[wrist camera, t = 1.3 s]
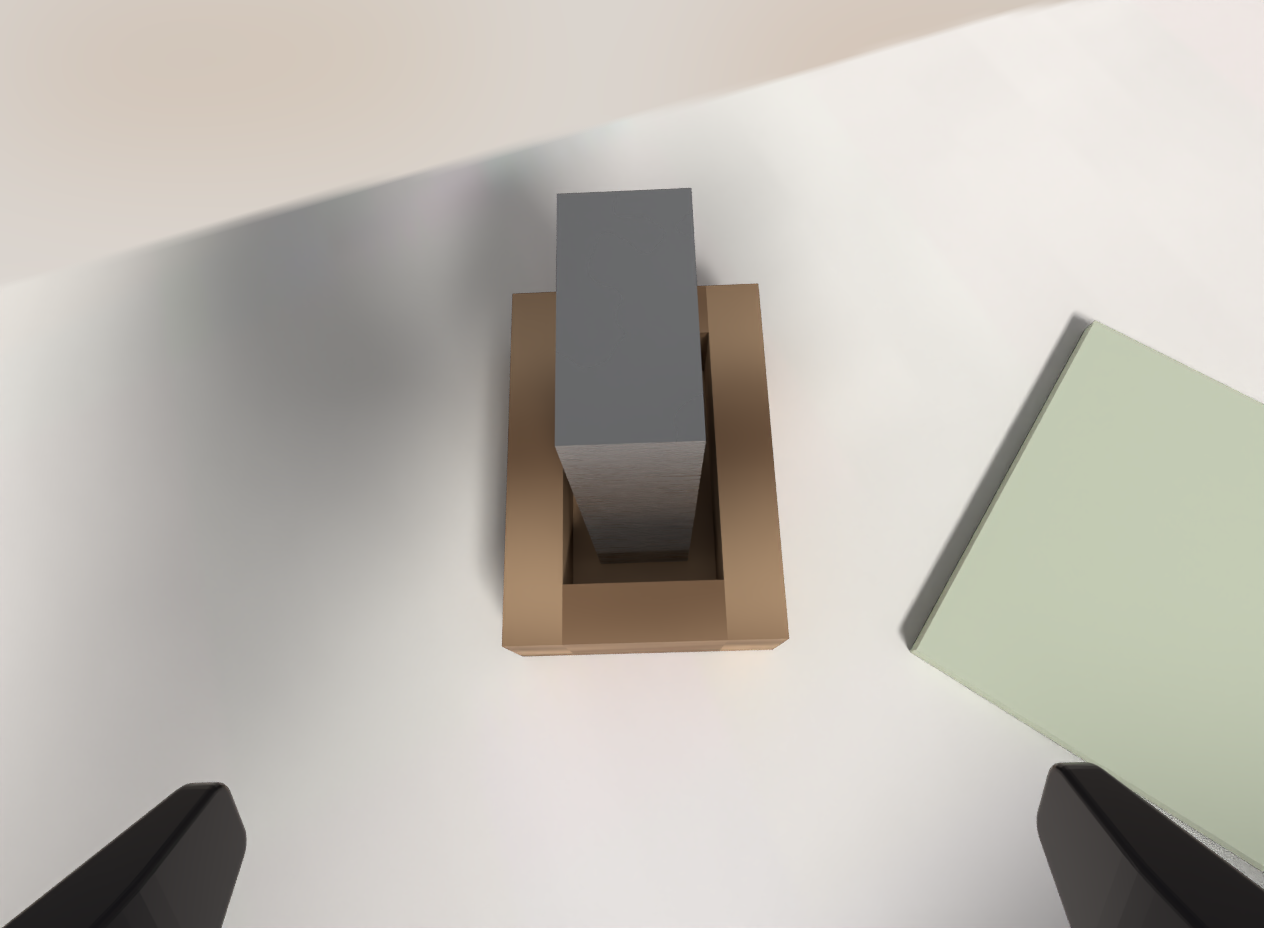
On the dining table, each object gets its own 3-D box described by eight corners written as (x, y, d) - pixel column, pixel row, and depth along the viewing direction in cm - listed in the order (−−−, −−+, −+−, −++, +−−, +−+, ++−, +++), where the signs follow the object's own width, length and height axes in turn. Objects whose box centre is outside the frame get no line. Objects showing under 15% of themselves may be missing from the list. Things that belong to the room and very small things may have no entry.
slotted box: (772, 649, 22) (789, 638, 19) (522, 656, 22) (502, 646, 19) (747, 333, 25) (758, 283, 22) (529, 342, 25) (512, 293, 22)
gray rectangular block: (687, 561, 22) (706, 440, 13) (600, 563, 22) (554, 446, 13) (679, 401, 24) (691, 188, 14) (599, 404, 24) (556, 194, 14)
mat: (1347, 924, 19) (1368, 931, 19) (909, 651, 22) (916, 649, 21) (1484, 530, 22) (1505, 525, 21) (1084, 329, 25) (1095, 320, 24)
